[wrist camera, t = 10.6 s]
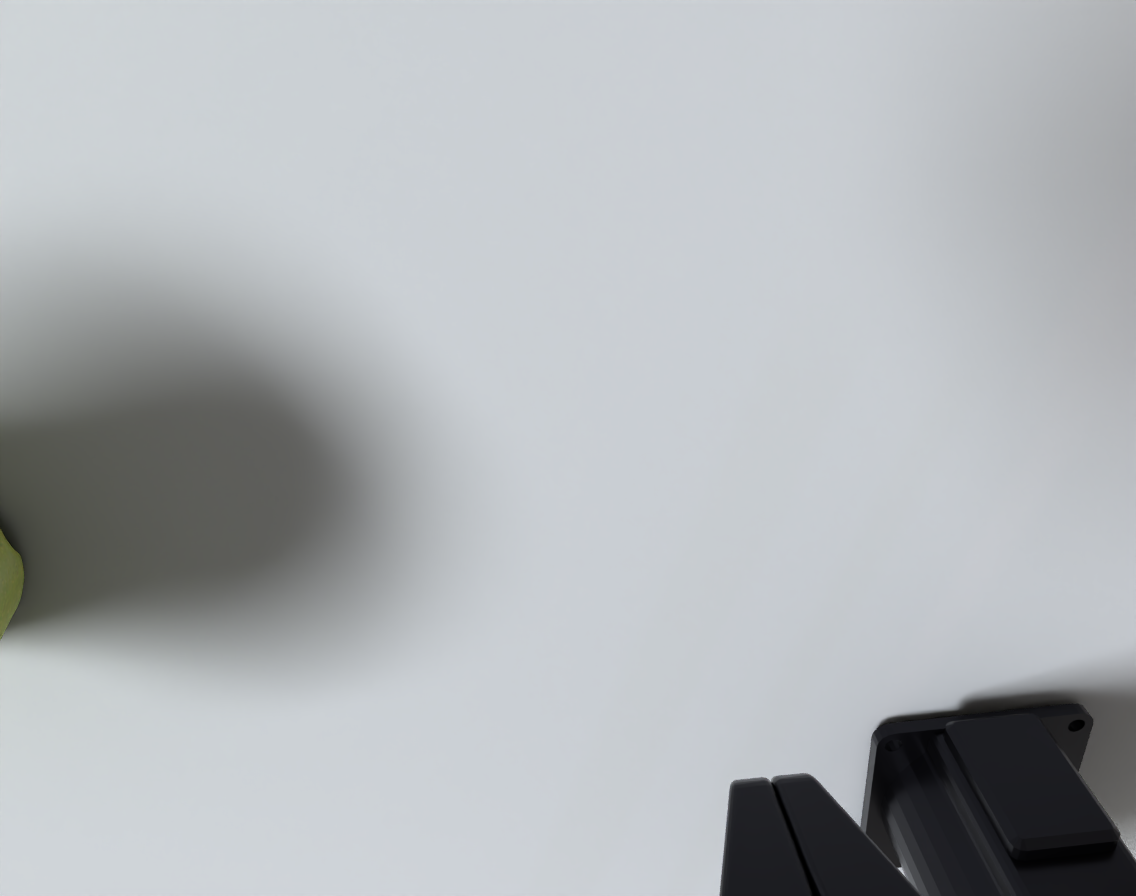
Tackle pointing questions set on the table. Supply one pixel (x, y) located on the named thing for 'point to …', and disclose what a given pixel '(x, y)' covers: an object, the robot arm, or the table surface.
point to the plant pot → (9, 582)
